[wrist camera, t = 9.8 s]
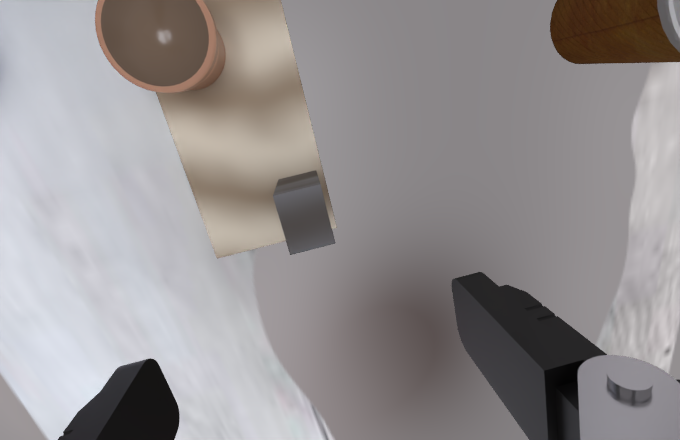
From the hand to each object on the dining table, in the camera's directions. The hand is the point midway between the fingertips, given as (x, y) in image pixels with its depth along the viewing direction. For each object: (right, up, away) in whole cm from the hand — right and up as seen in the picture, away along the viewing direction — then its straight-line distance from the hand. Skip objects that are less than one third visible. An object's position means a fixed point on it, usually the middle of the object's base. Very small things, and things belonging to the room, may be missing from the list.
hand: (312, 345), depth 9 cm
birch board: (-7, +13, +17) cm, 22 cm away
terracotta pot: (-10, +15, +15) cm, 23 cm away
